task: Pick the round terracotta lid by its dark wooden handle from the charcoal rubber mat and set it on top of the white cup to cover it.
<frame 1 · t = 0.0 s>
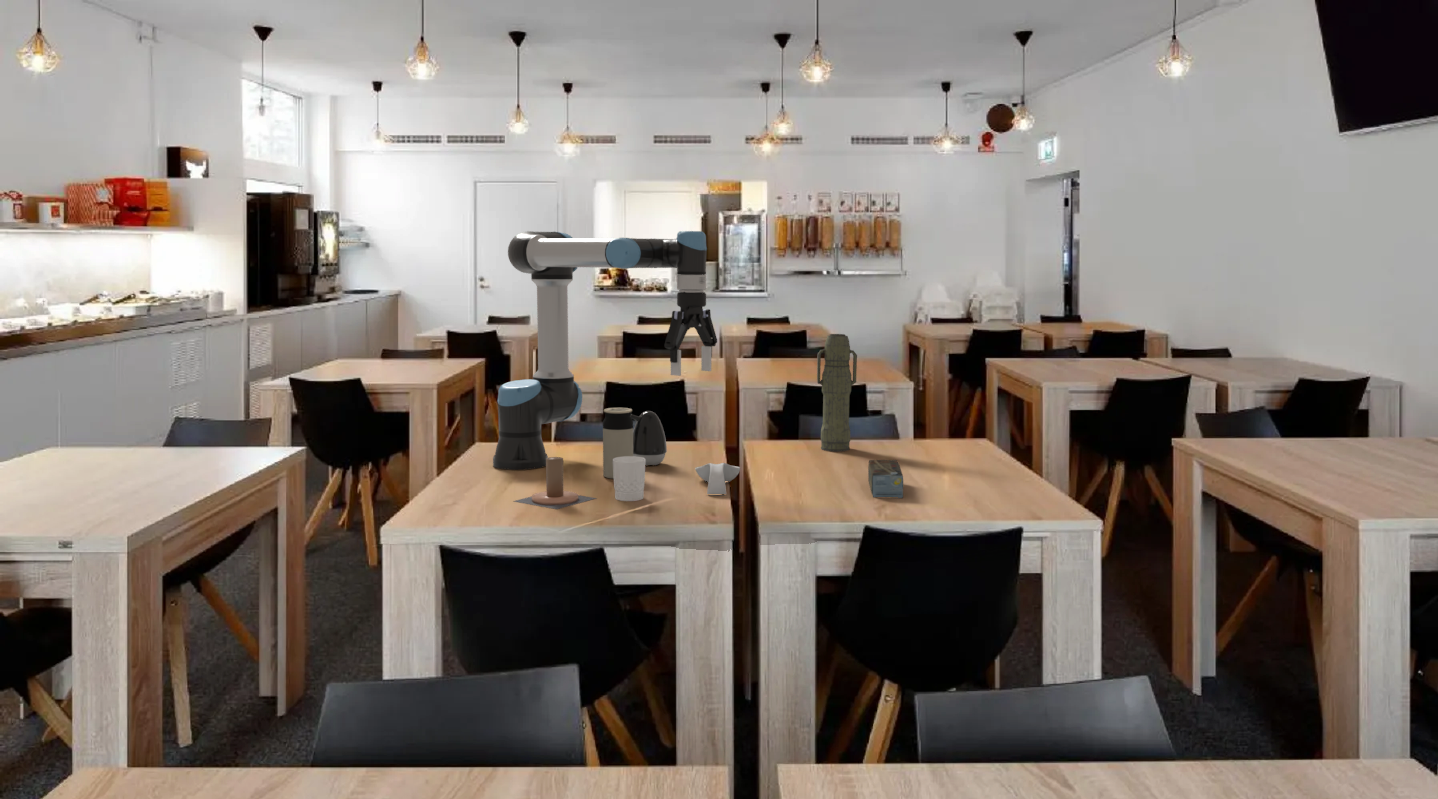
hand: (691, 373, 286), 28 cm above the table, tool pointing down, fingers open, 13 cm apart
lid: (555, 499, 262), resting on mat
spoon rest: (717, 487, 281), on the table
beverage carton: (885, 491, 278), on the table
white cup: (629, 500, 265), on the table
mat: (555, 501, 262), on the table
pump dispenser: (648, 465, 309), on the table
thermos: (835, 449, 335), on the table
travel mug: (618, 477, 292), on the table
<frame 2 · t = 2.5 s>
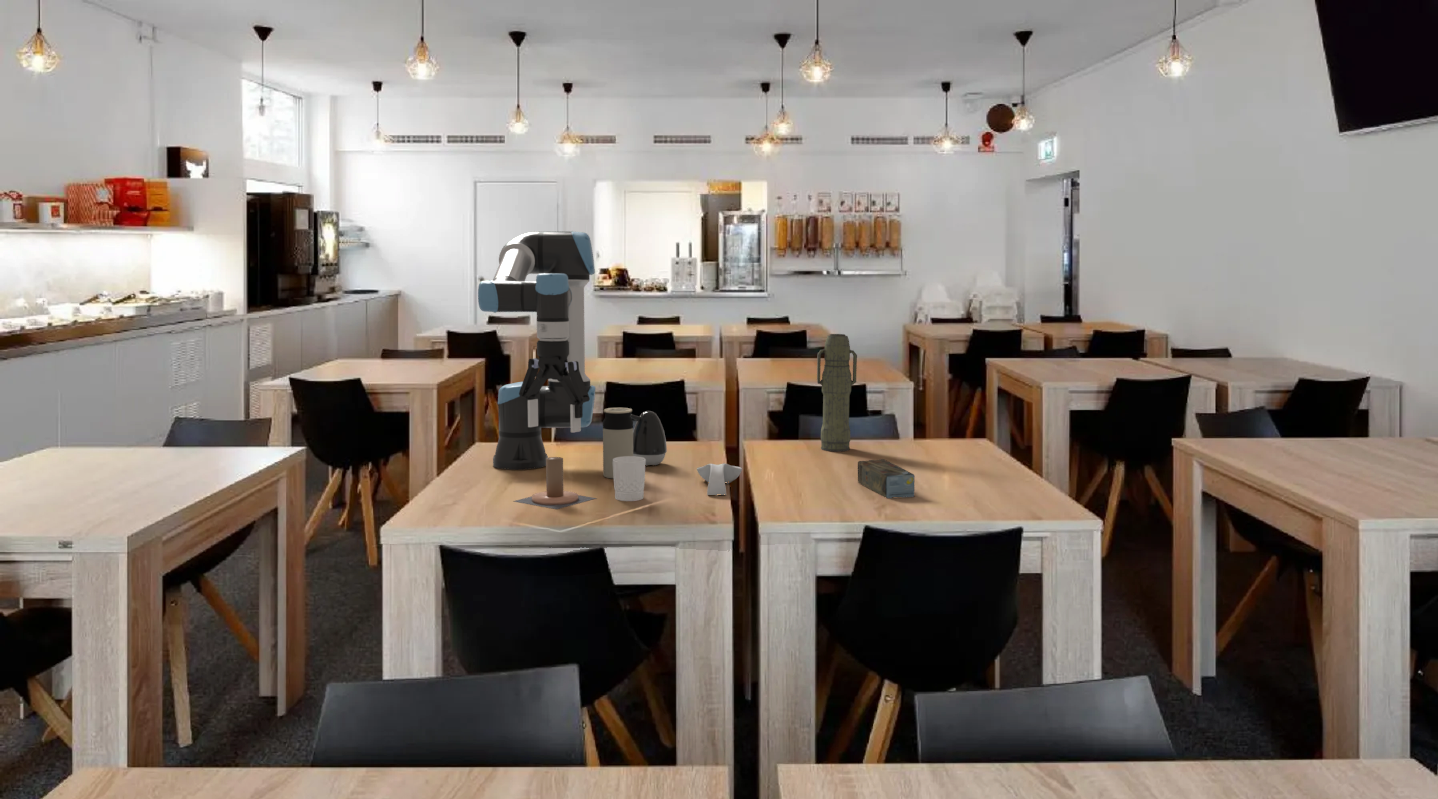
hand: (554, 429, 260), 18 cm above the table, tool pointing down, fingers open, 13 cm apart
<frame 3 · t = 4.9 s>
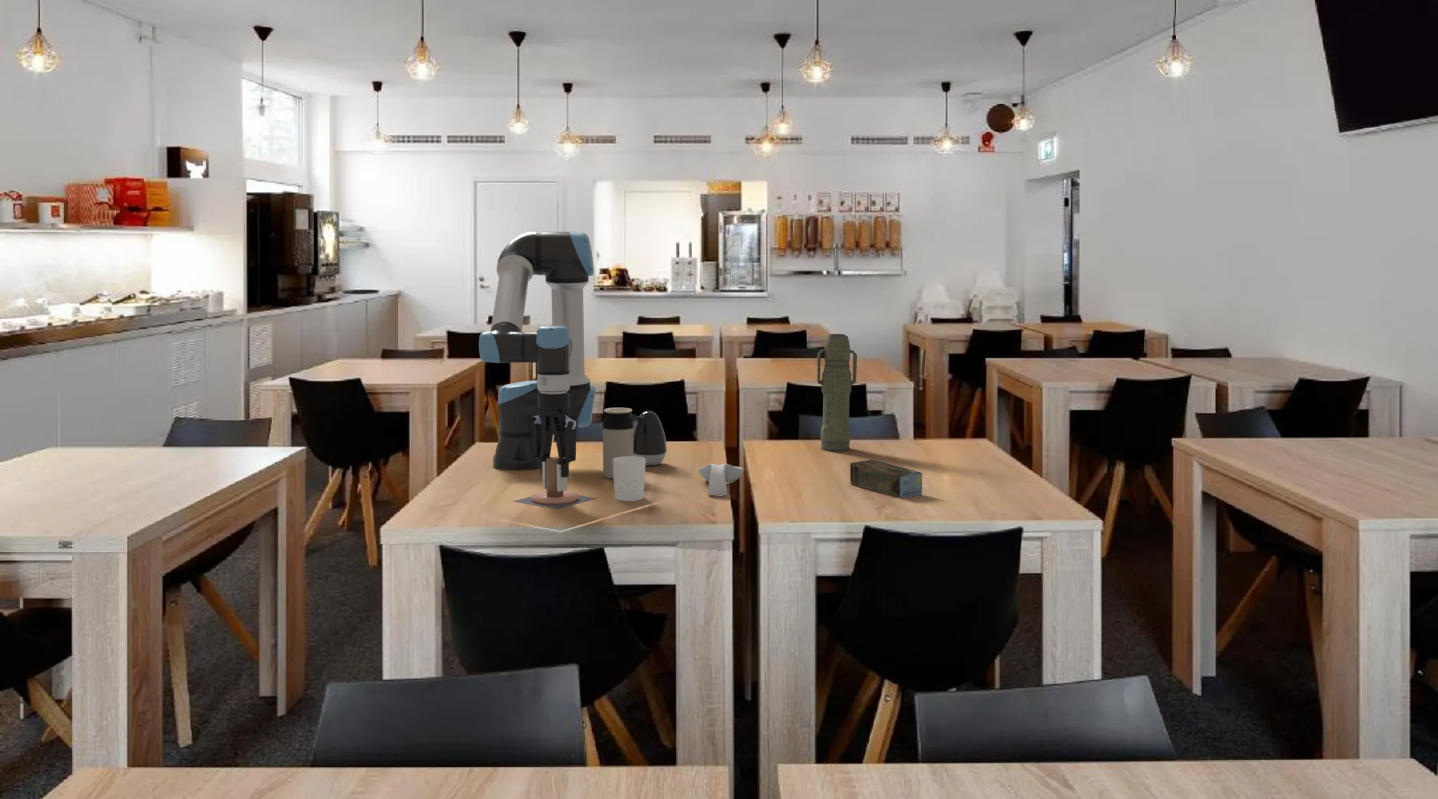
hand: (554, 488, 262), 3 cm above the table, tool pointing down, fingers closed on lid, 4 cm apart
lid: (555, 499, 262), resting on mat, touching gripper
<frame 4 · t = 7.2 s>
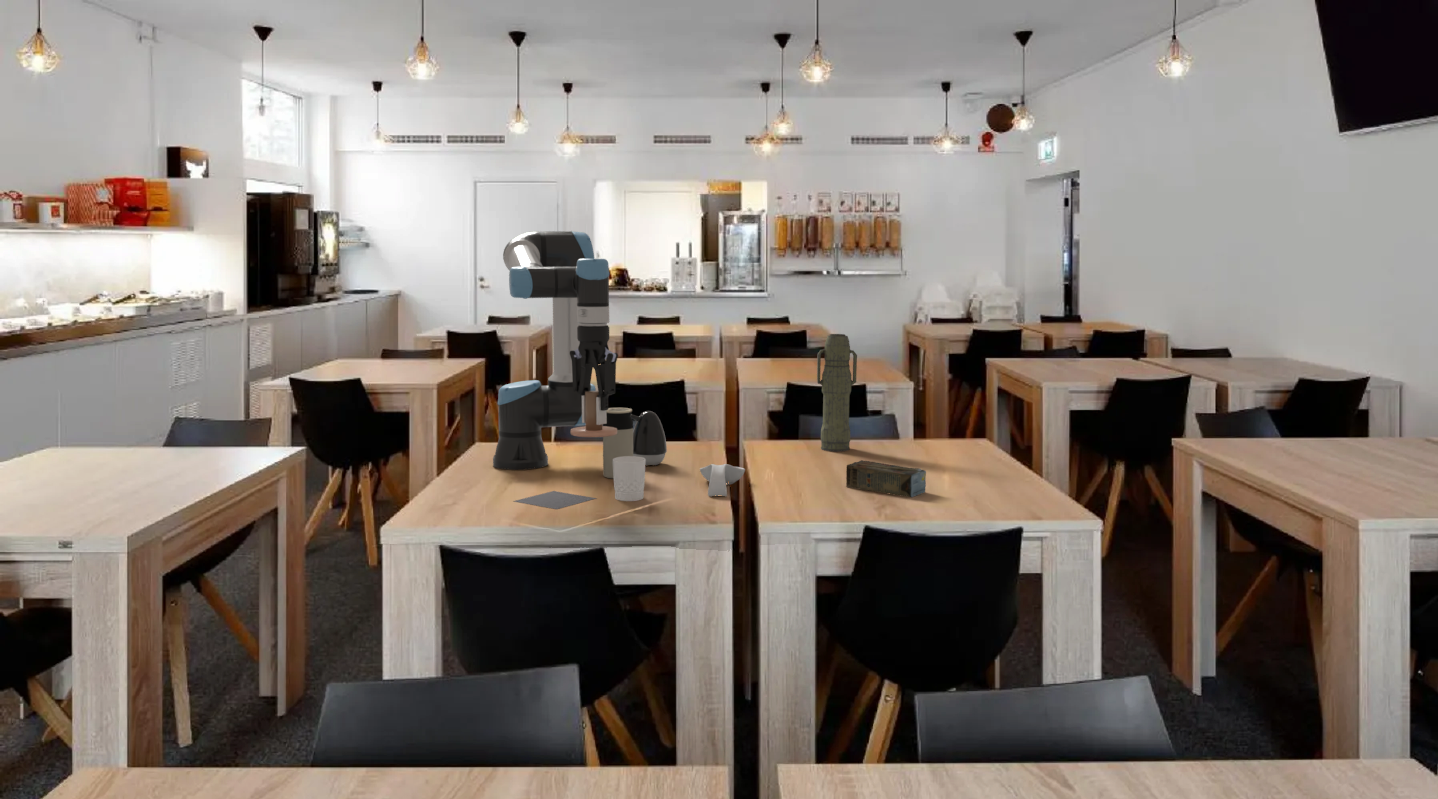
hand: (594, 422, 261), 19 cm above the table, tool pointing down, fingers closed on lid, 4 cm apart
lid: (594, 433, 261), point 16 cm above the table, touching gripper
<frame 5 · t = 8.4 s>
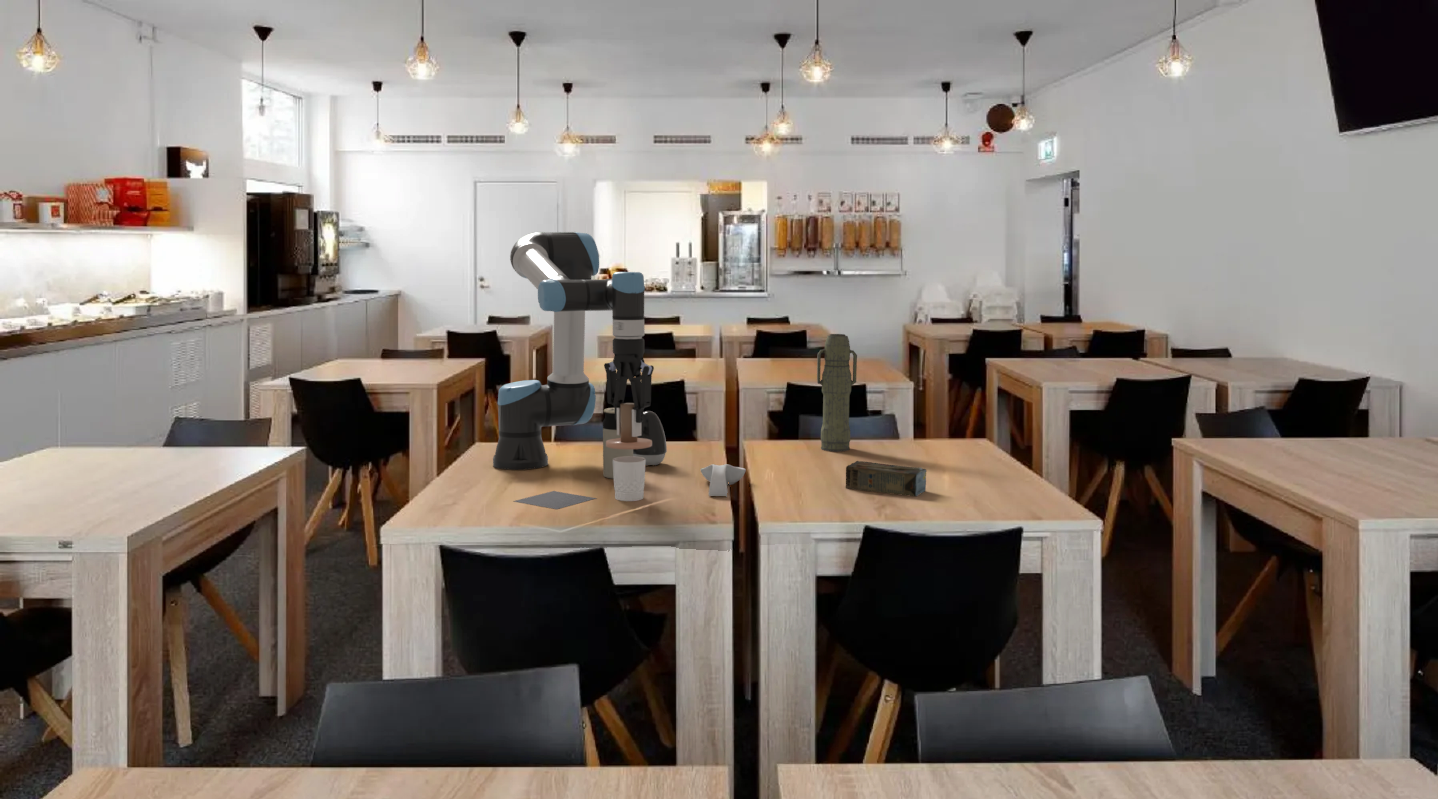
hand: (629, 434, 262), 16 cm above the table, tool pointing down, fingers closed on lid, 4 cm apart
lid: (629, 445, 263), point 13 cm above the table, touching gripper
when the fingers open (14 cm above the table, at t = 9.5 s): lid drops 1 cm, resting on white cup.
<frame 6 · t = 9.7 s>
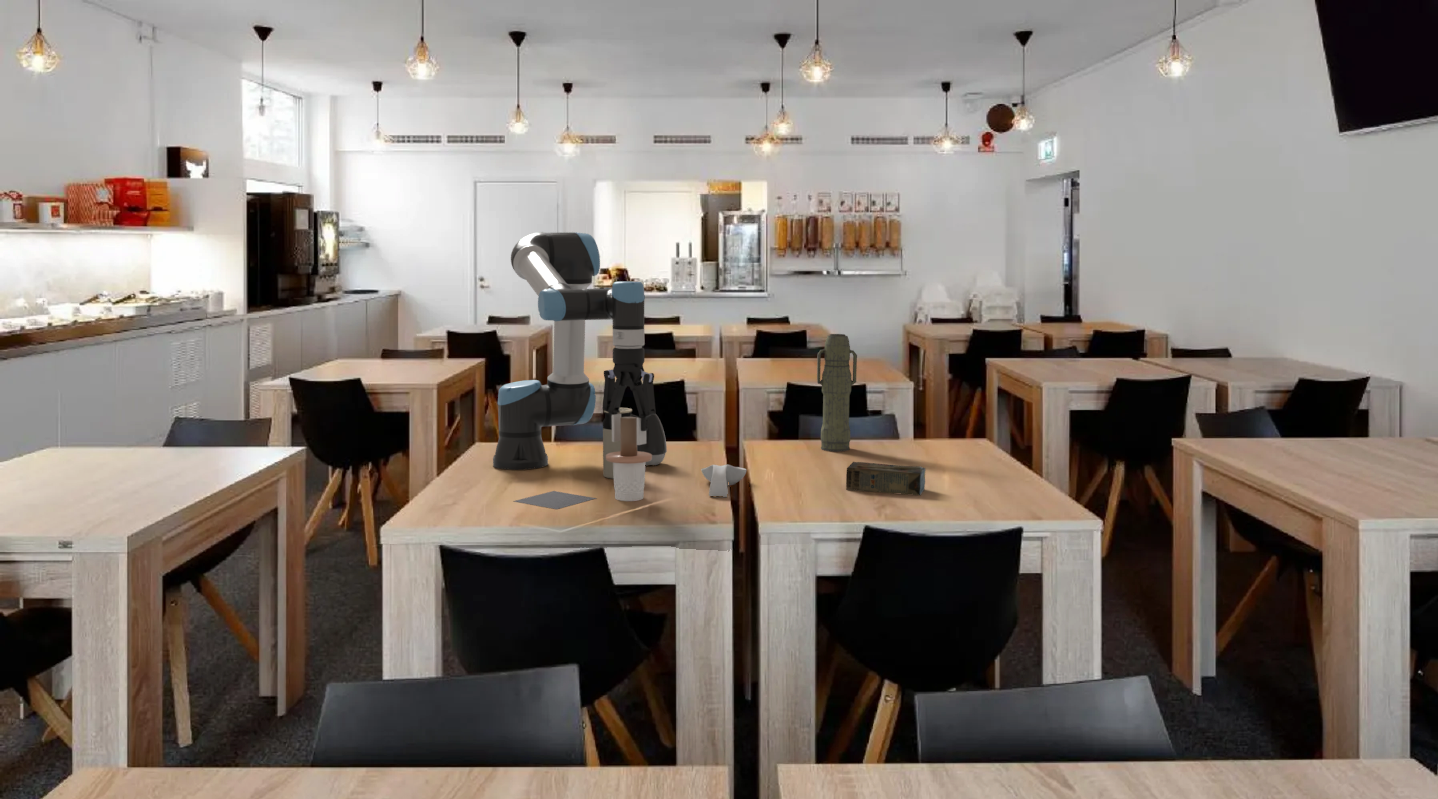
hand: (629, 442, 263), 14 cm above the table, tool pointing down, fingers open, 7 cm apart
lid: (628, 459, 263), point 10 cm above the table, touching white cup
white cup: (629, 500, 265), on the table, touching lid
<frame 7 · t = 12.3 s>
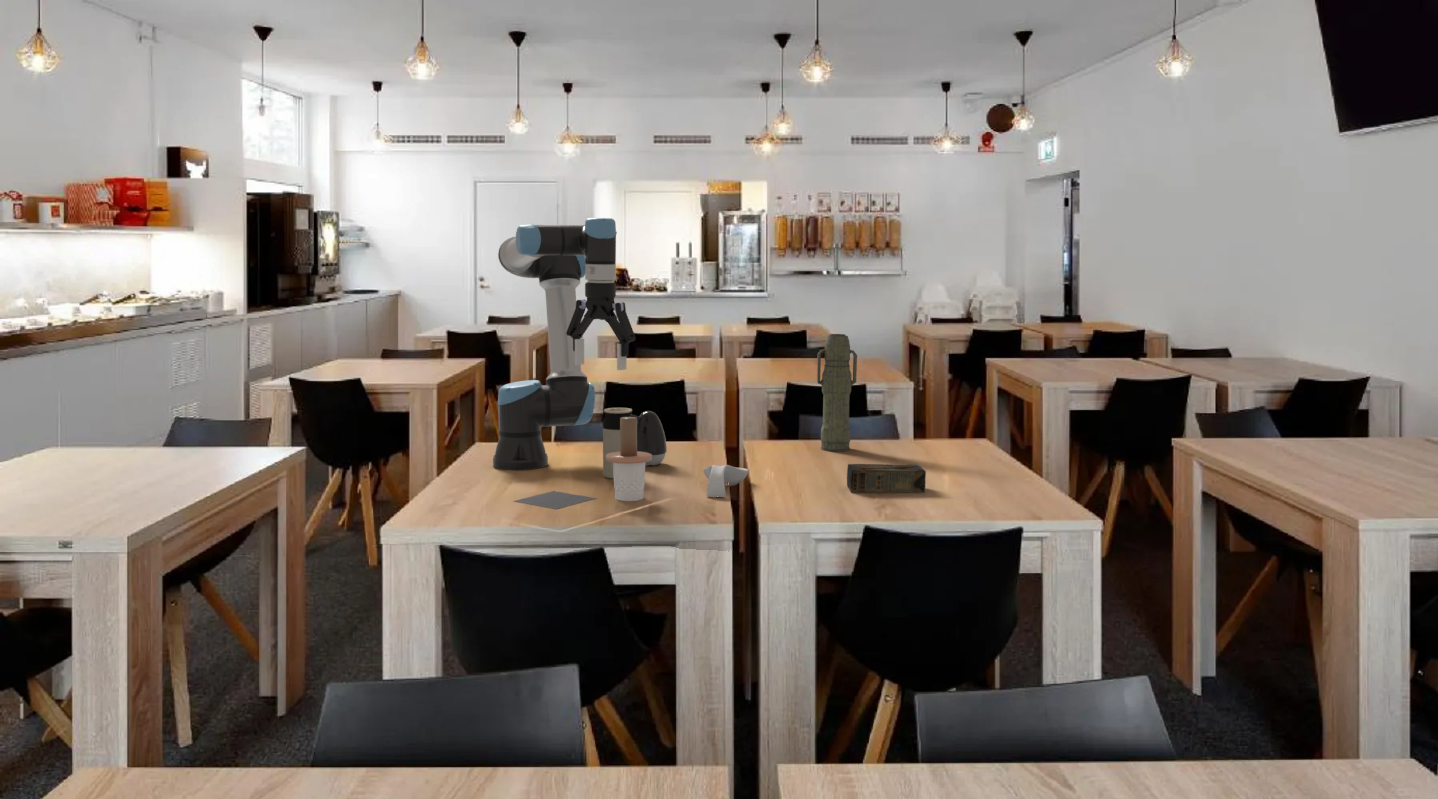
hand: (600, 367, 273), 31 cm above the table, tool pointing down, fingers open, 13 cm apart
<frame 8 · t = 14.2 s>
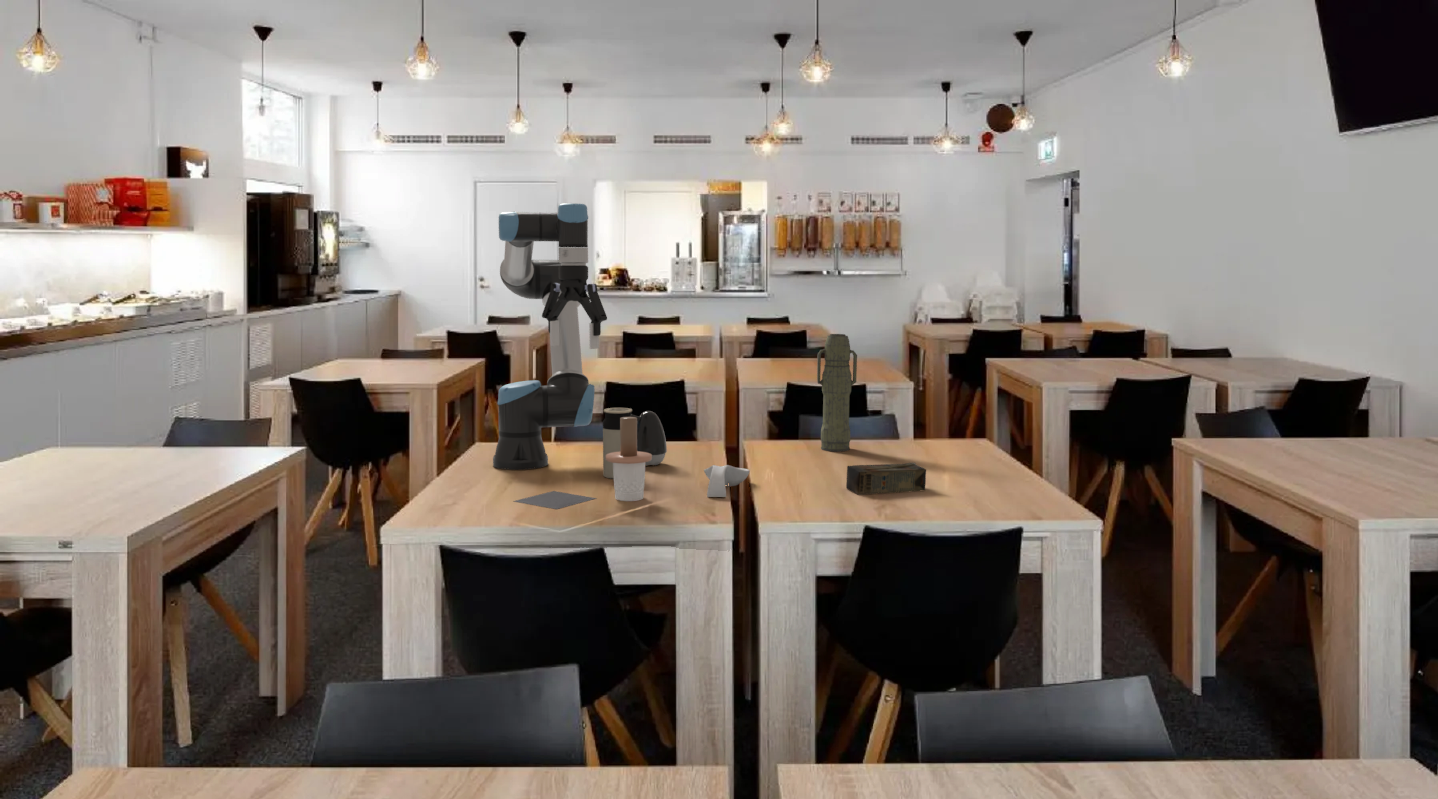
hand: (574, 347, 284), 35 cm above the table, tool pointing down, fingers open, 13 cm apart
at the end: lid 0.1 cm from the white cup (horizontally); lid point 9.9 cm above the table; white cup tilted 0° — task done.
